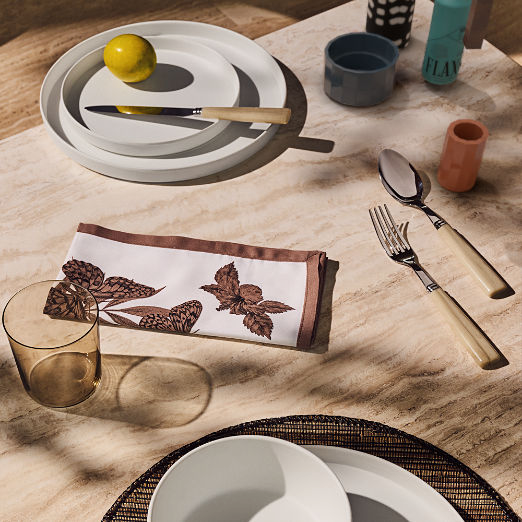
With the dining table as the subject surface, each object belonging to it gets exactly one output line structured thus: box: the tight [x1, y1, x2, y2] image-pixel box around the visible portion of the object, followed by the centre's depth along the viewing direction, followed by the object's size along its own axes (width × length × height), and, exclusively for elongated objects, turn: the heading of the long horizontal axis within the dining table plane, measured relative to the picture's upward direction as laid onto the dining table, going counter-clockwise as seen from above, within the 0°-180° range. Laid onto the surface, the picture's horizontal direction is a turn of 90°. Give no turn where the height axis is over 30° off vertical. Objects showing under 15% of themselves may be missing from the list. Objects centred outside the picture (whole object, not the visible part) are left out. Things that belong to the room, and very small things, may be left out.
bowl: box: [322, 31, 401, 107], centre depth 115 cm, size 12×12×7 cm
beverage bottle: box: [420, 0, 472, 86], centre depth 111 cm, size 6×7×20 cm
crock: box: [436, 118, 490, 193], centre depth 98 cm, size 6×6×9 cm
